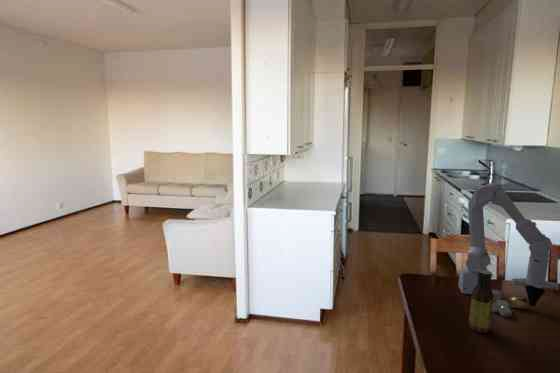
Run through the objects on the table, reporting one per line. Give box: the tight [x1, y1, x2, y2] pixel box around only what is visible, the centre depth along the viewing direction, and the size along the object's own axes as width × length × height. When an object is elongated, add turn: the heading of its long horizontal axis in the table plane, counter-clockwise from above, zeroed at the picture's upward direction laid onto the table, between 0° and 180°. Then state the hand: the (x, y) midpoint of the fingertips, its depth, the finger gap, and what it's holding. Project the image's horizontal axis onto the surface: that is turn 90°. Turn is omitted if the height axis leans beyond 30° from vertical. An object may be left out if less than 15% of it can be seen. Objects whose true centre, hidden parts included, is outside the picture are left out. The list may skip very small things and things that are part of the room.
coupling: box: [507, 295, 529, 310], centre depth 140 cm, size 5×4×4 cm
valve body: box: [492, 289, 513, 318], centre depth 140 cm, size 6×14×4 cm, turn 167°
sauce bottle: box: [468, 269, 493, 334], centre depth 124 cm, size 7×6×20 cm
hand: (531, 305), depth 139 cm, fingers closed
